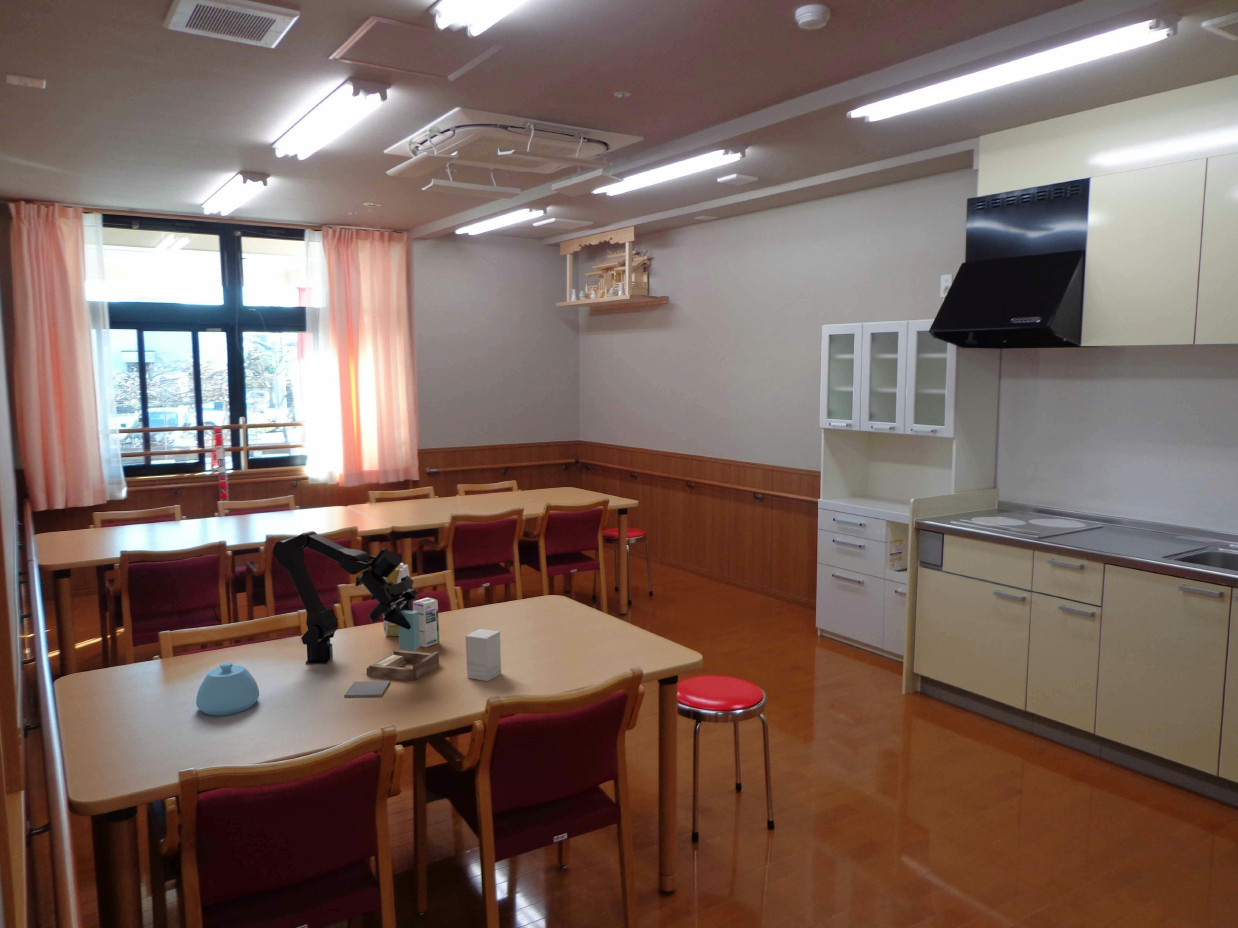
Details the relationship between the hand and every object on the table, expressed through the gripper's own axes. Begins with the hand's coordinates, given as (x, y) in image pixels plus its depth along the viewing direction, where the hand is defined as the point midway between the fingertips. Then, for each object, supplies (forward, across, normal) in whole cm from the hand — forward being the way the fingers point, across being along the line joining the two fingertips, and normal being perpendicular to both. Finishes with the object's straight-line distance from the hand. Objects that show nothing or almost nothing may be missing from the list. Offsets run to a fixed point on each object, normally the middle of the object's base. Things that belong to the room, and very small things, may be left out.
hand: (413, 626), depth 240 cm
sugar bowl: (-14, -36, +34) cm, 51 cm away
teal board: (+4, 0, +6) cm, 7 cm away
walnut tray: (+7, 0, +12) cm, 14 cm away
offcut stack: (+4, 0, +16) cm, 16 cm away
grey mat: (+6, -16, +13) cm, 22 cm away
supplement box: (+25, +3, -5) cm, 25 cm away
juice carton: (-8, +31, +28) cm, 42 cm away
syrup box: (+3, +24, +17) cm, 29 cm away
